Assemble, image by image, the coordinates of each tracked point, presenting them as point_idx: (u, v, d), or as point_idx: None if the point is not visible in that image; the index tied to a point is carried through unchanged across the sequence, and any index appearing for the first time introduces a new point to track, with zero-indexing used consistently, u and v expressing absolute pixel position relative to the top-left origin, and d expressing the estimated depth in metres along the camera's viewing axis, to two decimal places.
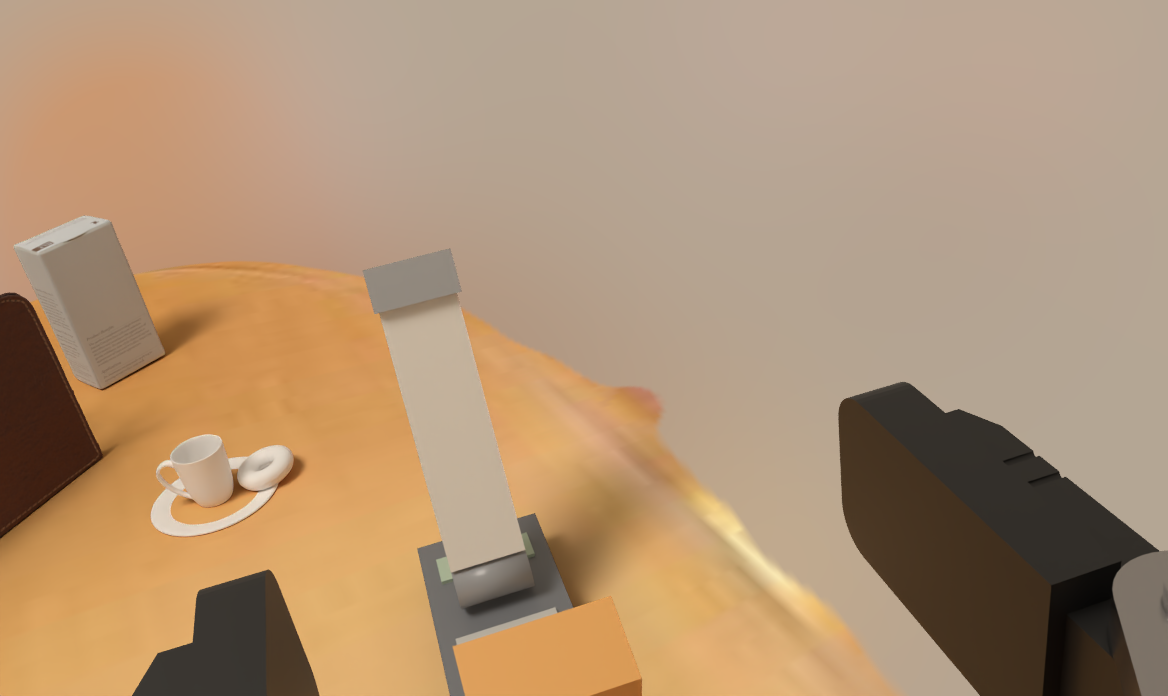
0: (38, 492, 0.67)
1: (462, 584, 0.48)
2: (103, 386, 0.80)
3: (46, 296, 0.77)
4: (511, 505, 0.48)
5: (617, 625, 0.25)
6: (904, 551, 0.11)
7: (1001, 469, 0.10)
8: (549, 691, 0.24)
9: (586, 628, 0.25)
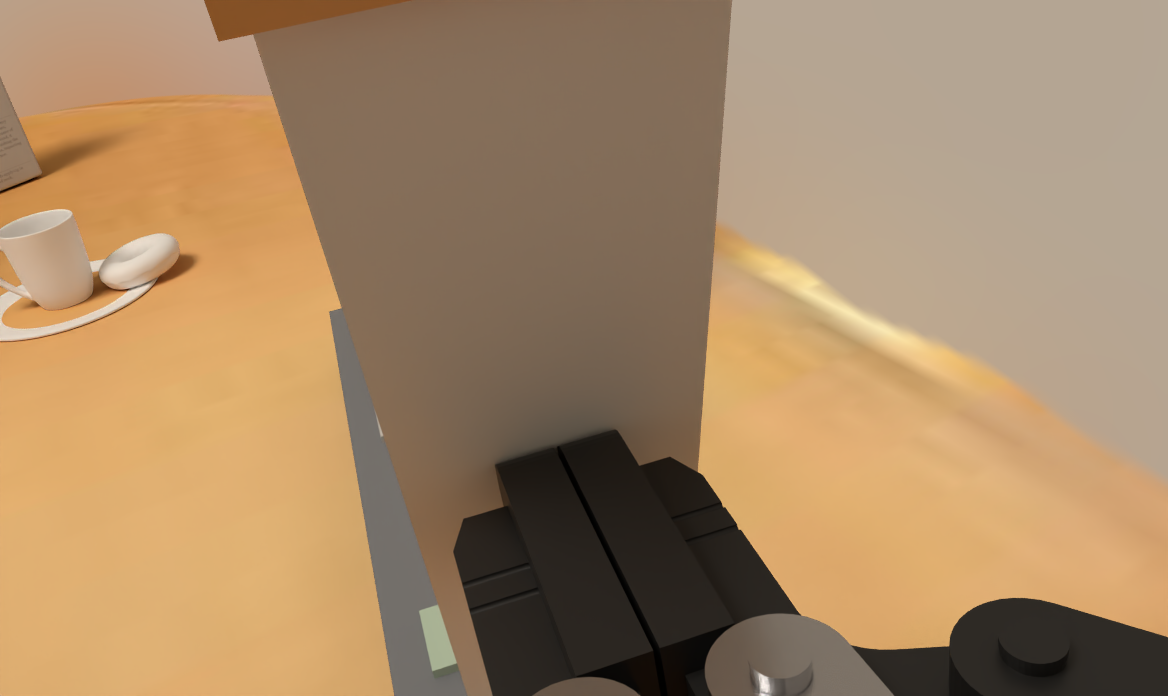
0: None
1: None
2: None
3: None
4: None
5: None
6: None
7: (664, 524, 0.10)
8: None
9: None
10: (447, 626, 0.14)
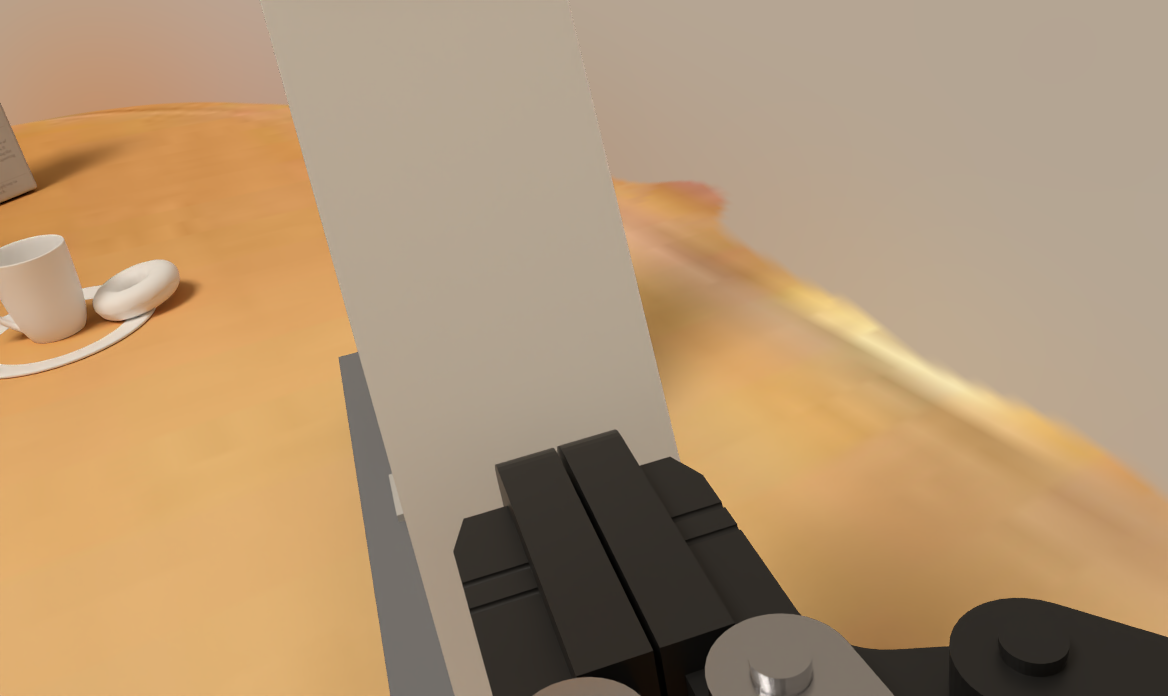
0: None
1: None
2: None
3: None
4: None
5: None
6: None
7: (663, 524, 0.10)
8: None
9: None
10: (440, 635, 0.13)
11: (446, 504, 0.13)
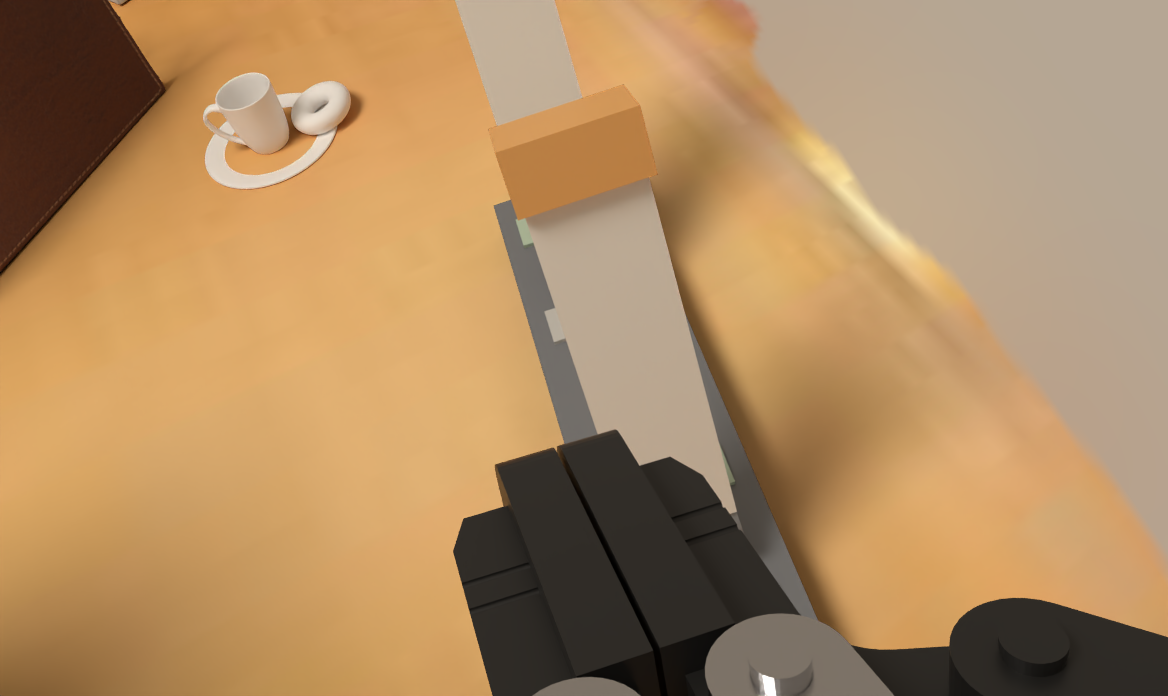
0: (106, 135, 0.61)
1: None
2: (121, 1, 0.72)
3: None
4: None
5: (625, 93, 0.28)
6: None
7: (664, 524, 0.10)
8: (560, 126, 0.27)
9: (599, 99, 0.29)
10: None
11: (613, 428, 0.32)
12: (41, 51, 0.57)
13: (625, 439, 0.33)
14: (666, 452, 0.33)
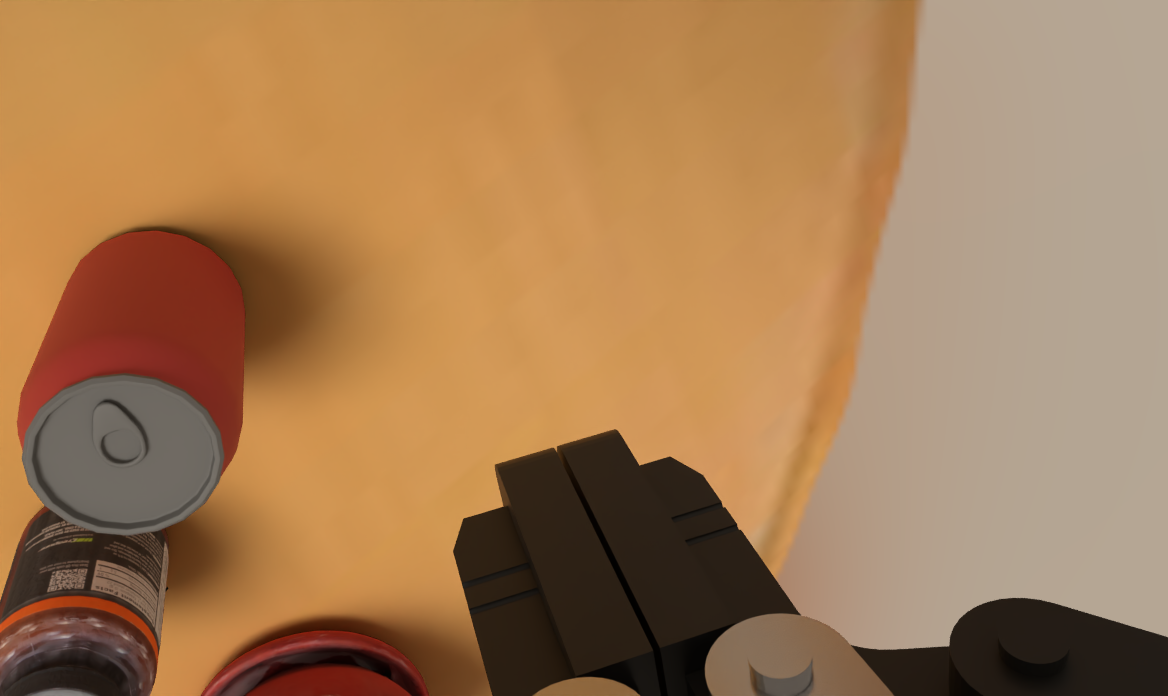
0: None
1: None
2: None
3: None
4: None
5: None
6: None
7: (663, 524, 0.10)
8: None
9: None
10: None
11: None
12: None
13: None
14: None
